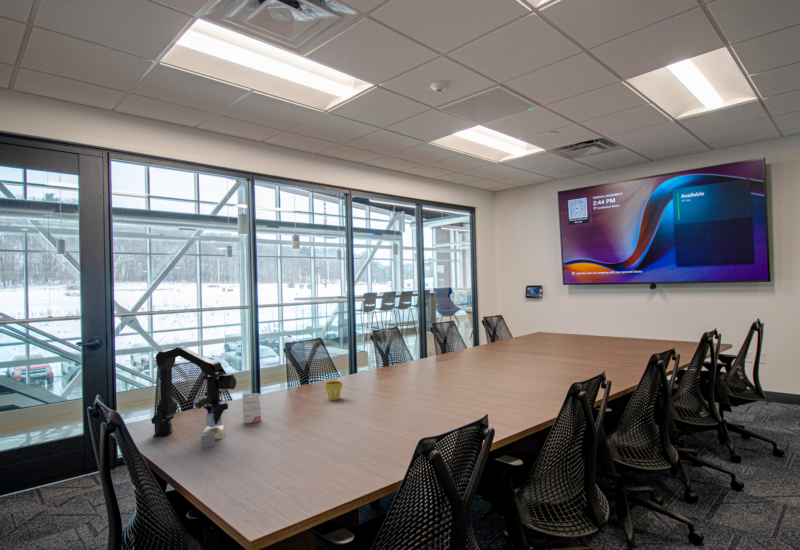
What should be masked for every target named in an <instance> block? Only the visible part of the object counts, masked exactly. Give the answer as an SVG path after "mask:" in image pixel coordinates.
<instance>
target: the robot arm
mask: <svg viewBox="0 0 800 550" xmlns="http://www.w3.org/2000/svg"><path fill="white" fill-rule="evenodd" d="M177 357H180V358H182V359H184V360H186V361H188V362H190V363H191V364H193V365H195V366H197V367H198V368H200V370H201V372H202V373H204V374H205V375H204V376H203V377H202V378H201V380H204V381H205V380H206V391H204V395H202V396H201V395H200V396H199V397H198V398H196V399H194V400H193V401H192V402H193V405H194V407H195V409H198V410H199V409H201V408H203V409H205V411H206V414H209V413H213V416H214V422H215V424H217V423H218V421H219V419H220V417H221V418H222V415H223V413H224V411H225V410H229V404H228V403H226V402H224V401H222V400H223V399H221V394H222V390H235V388H236V386H237V379H236V377H235V376H234V375H235V374H233V373H230V374H228V373H227V372H226V370H225V369H224V367H223V366H222V363H221V362H220V361H218V360H216V359H212V358H207V357H204V356H203V355H201V354H199V353H197V352H195V351H193V350H191V349H189V348H187V347H186V346H185V345H182V346H177V347H175V348H173V349H166V350H162V351H159V352H157V353H156V354H155V361H156V366H157V367H158V369H159V372H160V374H159V375H160V376H159V377H160V378H159V379H160V380H159V381H160V382H159V383H160V384H159V385H160V387H159V389H160V391H159V393H160V400H159V403H158V404H157V406H156V412H155V415H153V417H152V418H151V419H150V421H151V423H152V424H153V425H154V434H153V435H152V436H153V437H167V436H169V435H170V434H172V433H173V432H174V430H173V423H172V420H173V419H174V417H175V414H176V413H177V411H178V402H177V401H174V399H173V368H174V366H175V363H176V358H177Z"/></svg>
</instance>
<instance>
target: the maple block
mask: <svg viewBox="0 0 800 550" xmlns="http://www.w3.org/2000/svg"><path fill="white" fill-rule="evenodd" d="M213 431H214V438H215V440H222V439H223V437H224V436H225V434H226V426H225V425H223V424H221V425H218V426H214V427H209V426H206V427H205V429H204V430H203V431H202V433H205V432H213Z"/></svg>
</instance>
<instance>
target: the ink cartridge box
mask: <svg viewBox="0 0 800 550" xmlns="http://www.w3.org/2000/svg"><path fill="white" fill-rule="evenodd" d="M261 409H262V408H261V396H260V393H259V392H257V393H256V392H254V393H253V392H252V393H243V394H242V422H243V423H242V424H250V423H260V422H261V421H262V411H261Z"/></svg>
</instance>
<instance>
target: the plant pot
mask: <svg viewBox="0 0 800 550" xmlns="http://www.w3.org/2000/svg"><path fill="white" fill-rule="evenodd" d="M324 389H325V390H326V393H327V394H326V395H327V398H328V400H331V401H336V400H339V399H340V398H341V392H342V389H343V382H342V381H341V380H331V381H327V382H325V383H324Z"/></svg>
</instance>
